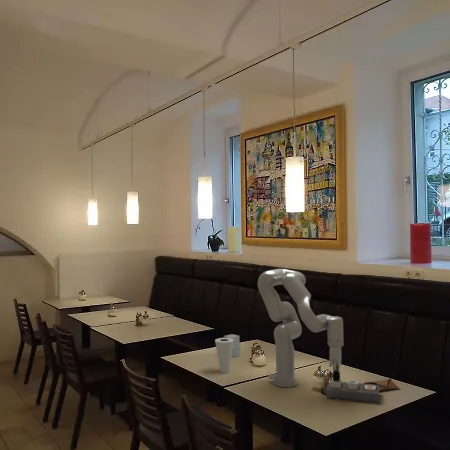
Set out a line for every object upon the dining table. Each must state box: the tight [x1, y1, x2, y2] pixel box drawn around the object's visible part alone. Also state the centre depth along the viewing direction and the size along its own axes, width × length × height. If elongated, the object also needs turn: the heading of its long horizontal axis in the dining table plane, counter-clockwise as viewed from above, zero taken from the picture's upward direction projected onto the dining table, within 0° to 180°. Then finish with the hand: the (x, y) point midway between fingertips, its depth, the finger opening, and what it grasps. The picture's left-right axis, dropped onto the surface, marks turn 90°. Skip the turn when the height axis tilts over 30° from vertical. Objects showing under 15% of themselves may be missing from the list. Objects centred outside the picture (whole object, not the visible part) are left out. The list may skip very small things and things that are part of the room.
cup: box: [214, 337, 234, 374], centre depth 285 cm, size 11×11×18 cm
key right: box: [364, 385, 376, 391], centre depth 240 cm, size 5×5×4 cm
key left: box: [329, 378, 343, 388], centre depth 245 cm, size 5×5×4 cm
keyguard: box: [325, 381, 380, 404], centre depth 243 cm, size 24×13×4 cm, turn 72°
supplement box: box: [223, 333, 241, 359], centre depth 318 cm, size 7×7×13 cm
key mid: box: [346, 379, 360, 390], centre depth 243 cm, size 5×5×4 cm
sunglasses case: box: [363, 378, 401, 394], centre depth 253 cm, size 18×7×7 cm, turn 112°
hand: (336, 379), depth 245 cm, fingers closed
